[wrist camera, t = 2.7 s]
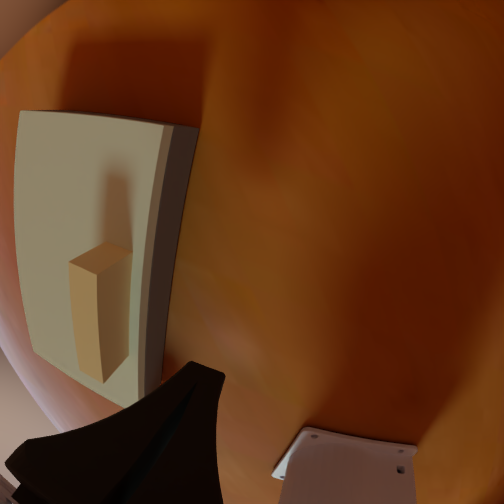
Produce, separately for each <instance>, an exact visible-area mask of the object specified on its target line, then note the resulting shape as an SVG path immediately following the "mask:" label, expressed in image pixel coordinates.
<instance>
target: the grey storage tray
mask: <svg viewBox="0 0 504 504" xmlns="http://www.w3.org/2000/svg"><path fill="white" fill-rule="evenodd" d="M36 111H55V112H69V113H80V114H91V115H100V116H109V117H117V118H124V119H132V120H139V121H145V122H152V123H158V124H164V125H170V126H174V128H173V132H172V137H171V142H170V147H169V152H168V157H167V163H166V168H165V174H164V179H163V185H162V191H161V198H160V204H159V211H158V218H157V225H156V232H155V240H154V248H153V257H152V266H151V276H150V286H149V298H148V311H147V326H146V345H145V376H144V397H145V396H147V395H148V394H150V393H151V392H152V391H154V390H155V389H157V388H158V387H159V385H160V384H161V377H162V364H163V353H164V342H165V332H166V323H167V314H168V306H169V298H170V290H171V282H172V275H173V268H174V261H175V254H176V248H177V241H178V235H179V229H180V223H181V217H182V211H183V206H184V200H185V195H186V190H187V184H188V179H189V174H190V169H191V164H192V159H193V155H194V150H195V145H196V141H197V136H198V132H199V128H195V127H190V126H184V125H179V124H173V123H167V122H161V121H155V120H149V119H142V118H135V117H128V116H120V115H112V114H103V113H93V112H82V111H70V110H36Z"/></svg>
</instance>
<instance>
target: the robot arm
mask: <svg viewBox="0 0 504 504" xmlns="http://www.w3.org/2000/svg"><path fill="white" fill-rule="evenodd" d="M224 380H225V374H224V373H223V372H220V371H217V370H214V369H212V368H209V367H206V366H204V365H201V364H199V363H196V362H193V361H190V362H188V363H187V364H186V365H185V366H184V367H183V368H182V369H180V370H179V371H178V372H177V373H176V374H175V375H174V376H172V377H171V378H170V379H169V380H167V381H166V382H165V383H163V384H162V385H161V386H159V387H158V388H157V389H155V390H154V391H152V392H151V393H150V394H148V395H147V396H145V397H143V398H142V399H140V400H139V401H137V402H135V403H134V404H132V405H130V406H129V407H127V408H125V409H123V410H121V411H119V412H117V413H115V414H113V415H111V416H109V417H107V418H105V419H102V420H100V421H98V422H95V423H93V424H90V425H87V426H84V427H82V428H78V429H75V430H71V431H68V432H64V433H61V434H56V435H51V436H46V437H40V438H34V439H28V440H26V441H25V442H24V443H23V444H21V445H20V446H19V447H18V448H17V449H16V450H15V451H14V452H13V454H11V456H10V457H9V458H8V459H7V460H6V462H5V466H6V467H7V469H8V470H9V471H10V472H11V473H12V474H13V475H14V477H15V478H16V479H17V480H18V481H19V482H20V483H21V484H20V485H19V487H18V488H17V489H16V488H15V487H14V486H13V485H12V484H10V483H9V482H8V481H7V480H6V479H5V478H4V477H3V476H2V475H1V474H0V504H12V503H13V504H223V499H222V493H221V488H220V482H219V475H218V466H217V452H216V422H217V409H218V401H219V398H220V394H221V391H222V387H223V384H224ZM416 452H417V446H414V445H405V444H397V443H390V442H383V441H377V440H370V439H365V438H359V437H354V436H348V435H343V434H338V433H334V432H329V431H325V430H320V429H316V428H312V427H305V428H303V429H302V430H301V431H300V433H299V434H298V436H297V437H296V439H295V440H294V441H293V443H292V444H291V446H290V447H289V449H288V450H287V452H286V453H285V454H284V456H283V457H282V459H281V460H280V461H279V463H278V464H277V466H276V467H275V468H274V470H273V471H272V474H271V475H272V477H274V478H278V479H282V480H284V481H283V486H282V490H281V495H280V499H279V504H417V503H416V490H415V479H414V470H413V462H412V456H413V455H414V454H415V453H416Z"/></svg>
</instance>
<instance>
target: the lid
mask: <svg viewBox="0 0 504 504" xmlns="http://www.w3.org/2000/svg"><path fill="white" fill-rule="evenodd" d="M173 128H174V126H170V125H164V124H158V123H152V122H145V121H139V120H132V119H124V118H117V117H109V116H100V115H91V114H80V113H69V112H55V111H36V110H24V111H20V116H19V123H18V132H17V141H16V153H15V169H14V225H15V242H16V254H17V264H18V272H19V280H20V287H21V293H22V299H23V305H24V311H25V316H26V321H27V325H28V330H29V334H30V339H31V343H32V347H33V351H34V352H35V353H37V354H38V355H39V356H41V357H42V358H43V359H45V360H46V361H48V362H49V363H51V364H52V365H53V366H55V367H56V368H58V369H59V370H61V371H62V372H64V373H65V374H67V375H68V376H70V377H72V378H73V379H75V380H76V381H78V382H79V383H81V384H83V385H84V386H86V387H88V388H89V389H91V390H93V391H94V392H96V393H98V394H100V395H101V396H103V397H105V398H107V399H108V400H110V401H112V402H114V403H116V404H118V405H119V406H121V407H123V408H127V407H129V406H130V405H132V404H134V403H135V402H137V401H139V400H140V399H142V398H143V397H144V376H145V345H146V326H147V311H148V298H149V286H150V276H151V266H152V257H153V248H154V240H155V232H156V225H157V218H158V211H159V204H160V198H161V191H162V185H163V179H164V174H165V168H166V163H167V157H168V152H169V147H170V142H171V137H172V132H173Z"/></svg>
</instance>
